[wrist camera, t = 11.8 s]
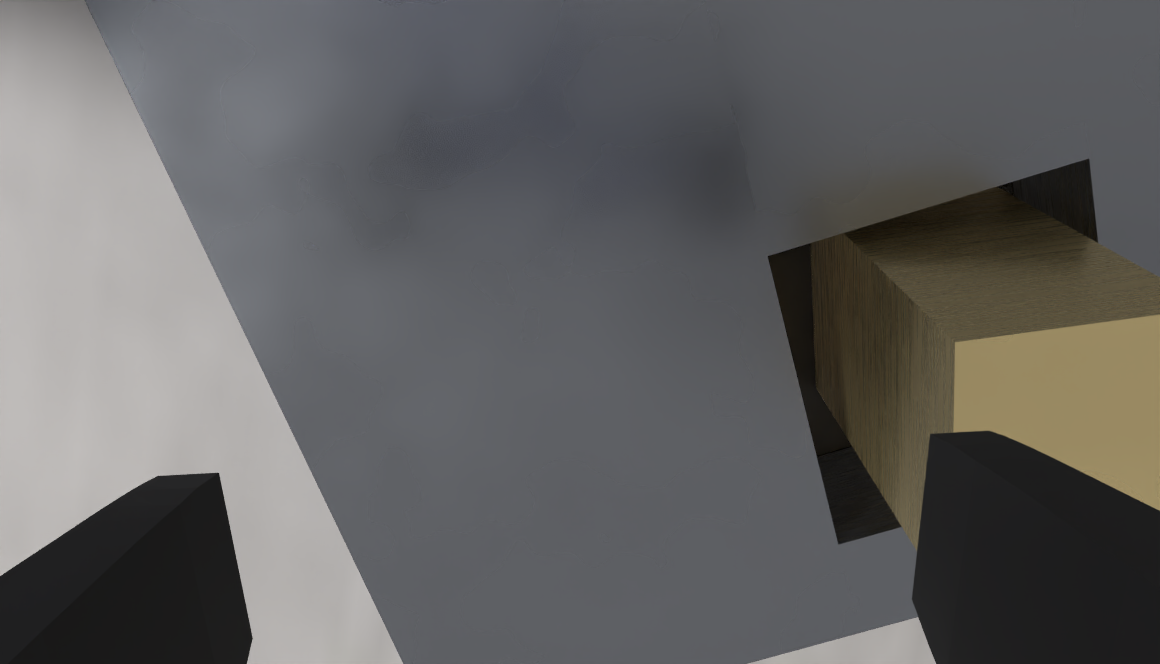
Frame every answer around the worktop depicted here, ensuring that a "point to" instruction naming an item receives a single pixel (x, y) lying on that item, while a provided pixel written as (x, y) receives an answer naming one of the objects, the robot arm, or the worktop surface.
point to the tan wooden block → (987, 344)
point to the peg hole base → (607, 277)
